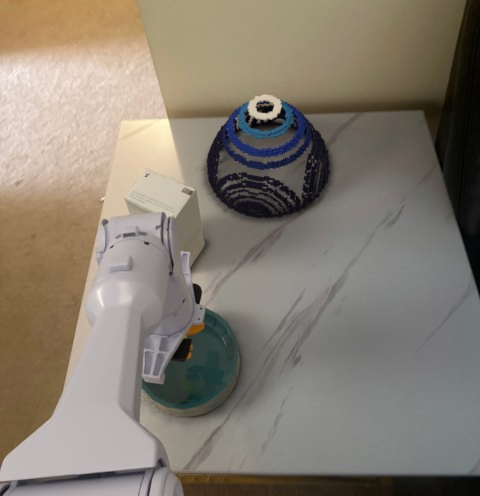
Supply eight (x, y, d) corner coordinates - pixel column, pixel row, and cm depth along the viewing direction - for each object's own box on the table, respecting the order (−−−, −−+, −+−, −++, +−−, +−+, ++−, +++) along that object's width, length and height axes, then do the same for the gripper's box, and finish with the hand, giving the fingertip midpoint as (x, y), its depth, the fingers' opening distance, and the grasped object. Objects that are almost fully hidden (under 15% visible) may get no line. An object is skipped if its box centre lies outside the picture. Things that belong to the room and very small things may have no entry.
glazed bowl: (231, 425, 70) (228, 416, 66) (129, 409, 72) (121, 400, 69) (247, 324, 77) (245, 312, 74) (155, 312, 79) (149, 300, 76)
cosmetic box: (142, 254, 85) (118, 198, 74) (163, 223, 88) (143, 165, 77) (189, 275, 83) (172, 221, 71) (209, 243, 86) (196, 186, 74)
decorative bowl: (317, 228, 86) (321, 171, 74) (193, 205, 90) (179, 148, 79) (338, 132, 97) (344, 69, 86) (227, 116, 101) (219, 54, 90)
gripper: (182, 368, 52) (201, 408, 63) (211, 234, 61) (223, 290, 71) (110, 357, 53) (140, 399, 64) (149, 228, 62) (170, 284, 73)
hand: (180, 341), depth 68 cm, fingers closed on toy figure, 3 cm apart
